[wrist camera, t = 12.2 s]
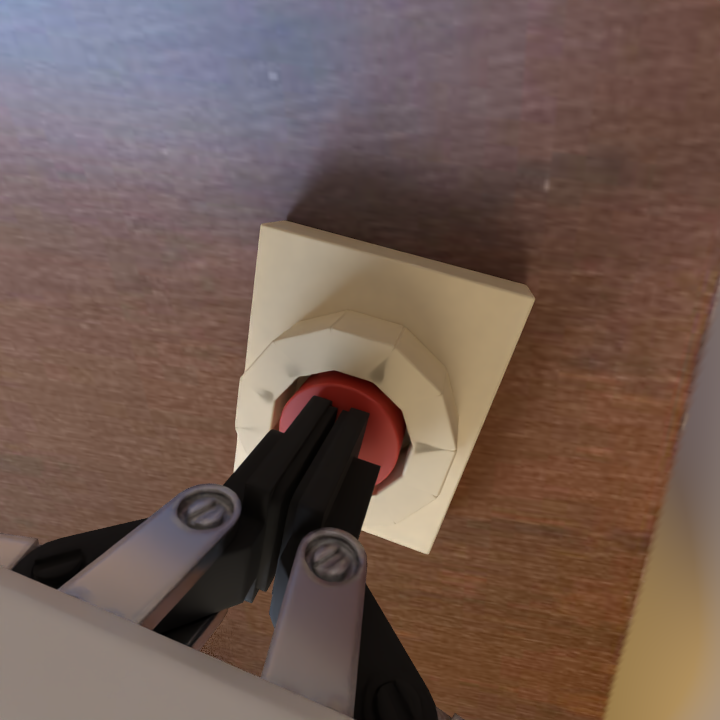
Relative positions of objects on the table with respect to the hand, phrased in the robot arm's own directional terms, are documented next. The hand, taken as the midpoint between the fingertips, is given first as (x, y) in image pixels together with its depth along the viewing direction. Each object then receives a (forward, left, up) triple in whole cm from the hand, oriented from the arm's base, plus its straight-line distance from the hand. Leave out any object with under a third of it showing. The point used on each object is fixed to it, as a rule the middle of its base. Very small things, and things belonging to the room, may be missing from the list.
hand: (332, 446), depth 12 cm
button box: (0, 0, -4) cm, 4 cm away
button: (0, 0, -2) cm, 2 cm away
